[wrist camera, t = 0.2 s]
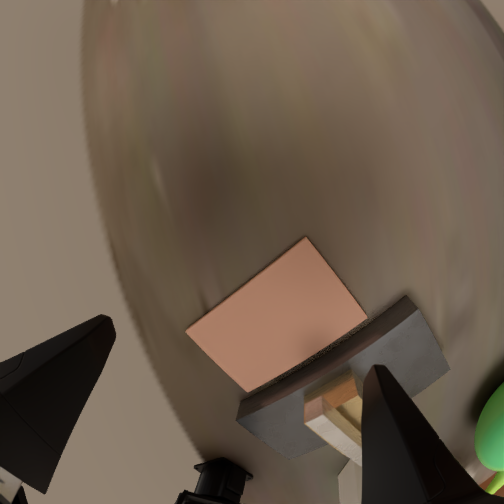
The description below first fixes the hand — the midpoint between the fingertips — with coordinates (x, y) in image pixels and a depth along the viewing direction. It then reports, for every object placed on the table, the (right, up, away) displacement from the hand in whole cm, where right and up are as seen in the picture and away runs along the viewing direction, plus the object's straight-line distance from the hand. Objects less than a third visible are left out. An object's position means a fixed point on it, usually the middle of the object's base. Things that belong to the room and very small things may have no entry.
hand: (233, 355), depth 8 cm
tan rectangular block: (+9, -11, +14) cm, 20 cm away
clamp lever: (+10, -13, +10) cm, 19 cm away
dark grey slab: (+11, -12, +17) cm, 23 cm away
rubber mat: (+3, -3, +16) cm, 17 cm away
